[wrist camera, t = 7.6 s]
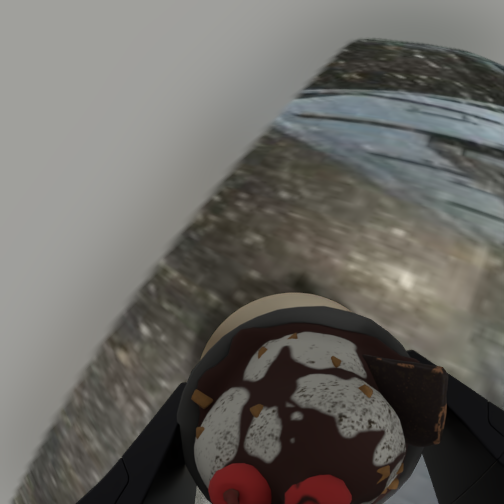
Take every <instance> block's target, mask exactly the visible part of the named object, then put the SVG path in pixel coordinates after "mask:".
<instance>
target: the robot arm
mask: <svg viewBox="0 0 504 504" xmlns="http://www.w3.org/2000/svg"><path fill="white" fill-rule="evenodd" d="M406 352H407V353H408V355H409V356H410V358H414V359H417V360H418V361H419V362H420V363H422V364H428V365H434V366H436V365H435V364H433V363H432V362H430V361H429V360H427V359H426V358H424V357H423V356H421V355H420V354H418V353H417V352H416V351H414V350H407V351H406ZM447 374H448V373H447ZM186 384H187V382H184V383H181V384H180V385H179V386H178V387H177V388H176V390H175V391H174V392H173V394H172V395H171V396H170V397H169V399H168V400H167V401H166V402H165V404H164V405H163V406H162V407H161V409H160V410H159V411H158V412H157V414H156V415H155V416H154V417H153V419H152V420H151V421H150V422H149V424H148V425H147V426H146V427H145V429H144V430H143V431H142V432H141V434H140V435H139V436H138V437H137V439H136V440H135V441H134V442H133V443H132V445H131V446H130V447H129V448H128V450H127V451H126V452H125V453H124V454H123V456H122V458H120V459H119V460H118V462H117V463H116V464H115V465H114V466H113V468H112V469H111V470H110V471H109V472H108V473H107V474H106V476H105V477H104V478H103V479H102V480H101V481H100V482H99V483H98V484H97V485H96V486H94V487H93V488H92V489H91V490H90V491H89V492H88V493H87V494H86V495H85V496H84V497H83V498H81V499H80V500H79V501H78V502H77V503H76V504H195V496H196V487H197V485H196V483H195V481H194V480H193V478H192V476H191V474H190V473H189V471H188V469H187V467H186V465H185V461H184V456H183V448H182V440H181V431H180V425H179V424H178V422H177V411H178V408H179V404H180V400H181V397H182V393H183V390H184V388H185V386H186ZM446 397H447V410H446V419H445V424H444V429H443V434H442V439H441V441H440V443H439V444H435V445H431V446H427V447H424V448H423V451H422V455H423V457H424V460H425V463H426V466H427V469H428V472H429V475H430V478H431V481H432V484H433V487H434V490H435V493H436V496H437V499H438V503H439V504H504V411H503V410H502V409H500V408H499V407H497V406H496V405H494V404H493V403H491V402H490V401H488V400H487V399H485V398H484V397H482V396H481V395H479V394H478V393H476V392H475V391H473V390H472V389H470V388H469V387H467V386H466V385H464V384H463V383H462V382H460V381H459V380H457V379H456V378H454V377H453V376H451V375H450V374H448V387H447V394H446Z"/></svg>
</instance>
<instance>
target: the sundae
mask: <svg viewBox="0 0 504 504" xmlns="http://www.w3.org/2000/svg"><path fill="white" fill-rule="evenodd" d="M447 387H448V374H447V372H446V371H445V370H444V368H443V367H440V366H434V365H428V364H422V363H420V362H419V361H418V360H417V359H414V358H410V356H409V355H408V353H407V352H406V350H405V349H404V347H403V345H402V344H401V343H400V342H399V341H398V340H396V339H395V338H394V337H393V336H392V335H391V334H390V333H389V332H388V331H386V330H385V329H384V328H382V327H381V326H379V325H378V324H377V323H375V322H374V321H372V320H371V319H368V318H366V317H363V316H360V315H358V314H355V313H352V312H349V311H345V310H341V309H336V308H331V307H327V306H303V307H292V308H285V309H278V310H275V311H272V312H269V313H266V314H263V315H260V316H257V317H255V318H253V319H251V320H249V321H247V322H245V323H243V324H241V325H239V326H238V327H236V328H235V329H233V330H232V331H230V332H229V333H227V334H226V335H224V336H223V337H222V338H221V339H220V340H219V341H218V342H217V343H216V344H215V345H214V346H213V347H212V348H210V349H209V350H208V352H207V353H206V354H205V355H204V357H203V358H202V359H201V360H200V362H199V363H198V364H197V365H196V366H195V368H194V369H193V370H192V372H191V375H190V377H189V379H188V381H187V384H186V386H185V388H184V390H183V393H182V397H181V400H180V404H179V408H178V411H177V422H178V424H179V425H180V431H181V440H182V448H183V456H184V461H185V465H186V467H187V469H188V471H189V473H190V474H191V476H192V478H193V480H194V481H195V483H196V485H197V486H198V487H199V489H200V490H201V492H202V493H203V494H204V496H205V497H206V498H207V500H208V501H210V502H211V503H212V504H383V503H384V502H385V501H386V500H387V499H389V498H390V497H391V496H392V495H393V494H395V493H396V492H397V491H398V489H399V488H400V487H401V486H402V485H403V484H404V483H405V482H406V481H407V480H408V478H409V477H410V476H411V474H412V472H413V471H414V469H415V467H416V465H417V463H418V461H419V459H420V457H421V454H422V451H423V448H424V447H427V446H431V445H435V444H439V443H440V441H441V439H442V434H443V429H444V424H445V419H446V410H447V397H446V394H447Z"/></svg>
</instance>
